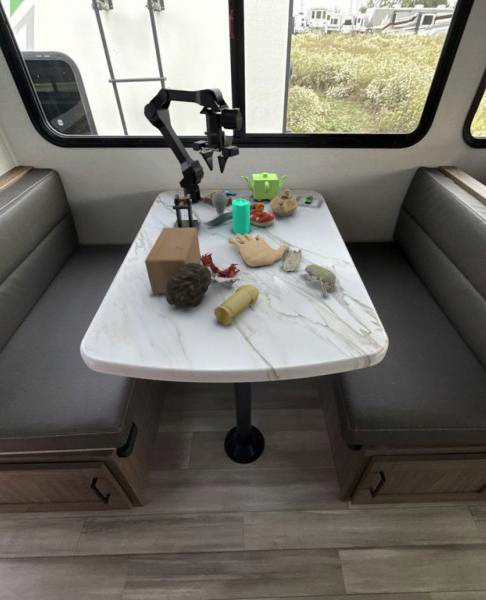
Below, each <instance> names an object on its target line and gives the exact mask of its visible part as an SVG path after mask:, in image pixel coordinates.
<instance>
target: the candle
mask: <svg viewBox="0 0 486 600" xmlns="http://www.w3.org/2000/svg"><path fill="white" fill-rule="evenodd" d="M231 205H232V206H231V208H232V210H231V211H232V213H233V219H232V231H233V233H234V234H237V233H239V234H241V235H244V234H245V233H247V234H249V233H250V231H251V223H250V205H251V202H250V201H249V200H247V199H245V198H242V197H240V198H236V199H232V203H231Z"/></svg>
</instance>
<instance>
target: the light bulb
mask: <svg viewBox="0 0 486 600" xmlns="http://www.w3.org/2000/svg"><path fill="white" fill-rule="evenodd" d="M227 197H228V196H227V195H226V194H225V193H223V191H222V192H216V193H214V194H213V196H212V204H211V205H213V207H214V209H215V212H216V218H217V217H219V216H220V215H221V214H223V213H225V210H226V207H227V206H228V205H227V202H228V198H227Z"/></svg>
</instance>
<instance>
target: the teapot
mask: <svg viewBox="0 0 486 600" xmlns="http://www.w3.org/2000/svg"><path fill="white" fill-rule="evenodd" d="M288 177H289V175H282V176H281V178H280V180H279V178H278V175H277V173H269V172H265V171H264V172H262V173H252V174H251V180H250V178H249V177H248V176H245V175H244V176H243V175H242V176H241V178H243V179H244V180H245V181H246V185H247V187H248V189H249V190H250V191H251V193H252V198H253V200H256V201H257V202H262V200H268V201H270V202H271V201H272V200H273V199H275V198H276V197H277V196H278V195H279V190H280V189H281V188H282V187H283V184H284V181H285V179H286V178H288Z"/></svg>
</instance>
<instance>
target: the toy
mask: <svg viewBox="0 0 486 600" xmlns="http://www.w3.org/2000/svg"><path fill="white" fill-rule="evenodd" d="M222 192H224V193H225V194H226V196H227V195H230V196H231V195H233V196H234V195H236V193H235V192H234V191H229V190H227V189H224V190H222Z"/></svg>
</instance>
